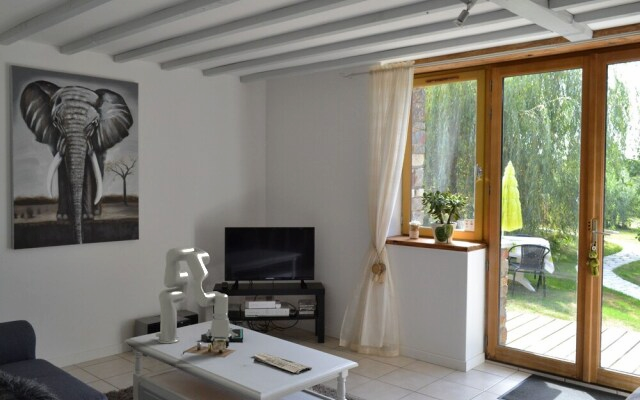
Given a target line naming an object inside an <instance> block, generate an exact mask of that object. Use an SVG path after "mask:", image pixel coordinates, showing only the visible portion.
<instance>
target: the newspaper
mask: <svg viewBox="0 0 640 400" xmlns="http://www.w3.org/2000/svg"><path fill="white" fill-rule="evenodd" d="M253 356H254V360H255V361H258V362H262V363H264V364H268V365H271V366H274V367H277V368H280V369H282V370H286V371H289V372H292V373H295V374H297V375H298V374H300V371H302V370H307V369H312V370H313V367H311V366H308V365H304V364H301V363H299V362H295V361H291V360H288V359H285V358H281V357H279V356H275V355H273V354H268V353H266V352H261V353H258V354H253ZM305 368H307V369H305Z"/></svg>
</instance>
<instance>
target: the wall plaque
mask: <svg viewBox="0 0 640 400" xmlns="http://www.w3.org/2000/svg"><path fill="white" fill-rule="evenodd" d="M209 330H210V329H208V331H209ZM230 330H231V331H232V332H234V333H235V335H234V336H233V337H232V338H231V339H230V340H229V344H231V343H232V344H233V343H234V344H236V343H237V344H242V343H244V329H243V328H231V327H230ZM208 331H207V332H208ZM209 334H210V335H211V332H210V333H209ZM230 336H231V333H230V334H229V337H230ZM200 339H201V340H200V341H201V342H204V343H211V340H210V339H209V337H208V336H207V335H206V333H203V334H200ZM215 339H226V338H225V337H214V340H215Z"/></svg>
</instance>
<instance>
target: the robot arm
mask: <svg viewBox="0 0 640 400" xmlns="http://www.w3.org/2000/svg"><path fill="white" fill-rule="evenodd" d="M210 259H211V257H210V255H209V253H208V252H207V251H205V250H203V249H201V248H199V247H196V246H193V245H189V246H180V247H179V246H177V247H172V248H169V249H168V250H167V252H166V255H165V269H164V277H163V278H164V279H163V285H164V287H166V289H164V290H162V291H160V293H158V294H159V295H158V300H159V307H160V308H159V309H160V330H159V331H160V332H156V333H155V337H156V338H157V337H158V339H157V342H158V343H159V344H173V343H178V342H179V341H180V338H179V337H177V333H178V331H177V328H178V327H177V325H178V324H177V322H178V321H177V318H178V313H177V312H178V311H177V308H176V307H175V304H180V303H184V302H185V301H186V300H187V298H188V291H189V285H190V276H189V274H188V272H187V271H185V270H181V263H180V262H186V264H187V266H188V268H189V270H190V272H191V275H192V276H193V278H194V281H193V282H194V283H193V288H192V289H193V290H192V291H193V295H194V297H195V300H196V302H197V304H199V306H201V307H202V308H203V307H204V308H207V307H210V306H214V308H213V309H214V310H213V313H211V317H212V320H211V326H210V329H208V330H209V331H206V333H205V334H206V335H207V336H208V337H209V339H210V340H211V342H210V344H211V346H212V348H213V341H214V337H225V338H226V349H228V347H229V346H230V343H229V340H230V339H231V338H232V337H233V336H234V335H235V333H234V332H232V331H231V330H230V328H231V325H230V320H229V319H230V318H229V317H228V316H229V315H228V314H229V296H228V295H227V294H226V293H221V292H219V291H217V290H216V291H215V290H213V291H208V292H205V291H204V290H203V287H202V286H203V284H202V283H203V281H205V280H206V279H207V278H208V277H209V272H208V269H207V268H206V266H207V265H208V264H209V263H210V261H211V260H210ZM210 332H211V335H210V334H209V333H210ZM230 333H231V336H230V337H229V334H230Z"/></svg>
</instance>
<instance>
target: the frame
mask: <svg viewBox="0 0 640 400" xmlns="http://www.w3.org/2000/svg"><path fill="white" fill-rule="evenodd" d="M226 349H227V348H226V339H215V340H214V341H213V350H226Z"/></svg>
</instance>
